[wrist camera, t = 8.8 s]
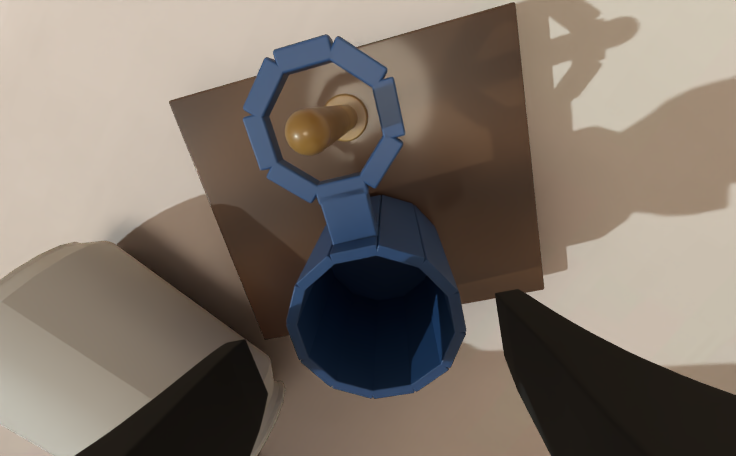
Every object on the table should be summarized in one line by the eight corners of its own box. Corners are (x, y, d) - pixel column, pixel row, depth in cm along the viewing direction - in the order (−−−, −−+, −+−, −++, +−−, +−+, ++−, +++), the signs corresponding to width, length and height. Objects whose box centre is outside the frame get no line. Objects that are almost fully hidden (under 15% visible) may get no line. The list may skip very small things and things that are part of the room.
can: (-22, 366, 17) (190, 495, 19) (-155, 388, 10) (190, 580, 13) (112, 247, 20) (279, 367, 23) (75, 208, 14) (314, 383, 16)
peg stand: (535, 277, 18) (664, 435, 9) (271, 326, 20) (183, 494, 11) (505, 9, 14) (677, -126, 6) (183, 100, 16) (-47, 101, 8)
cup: (447, 289, 17) (476, 383, 11) (340, 309, 18) (316, 408, 12) (398, 43, 14) (405, 2, 8) (268, 80, 14) (188, 68, 9)
